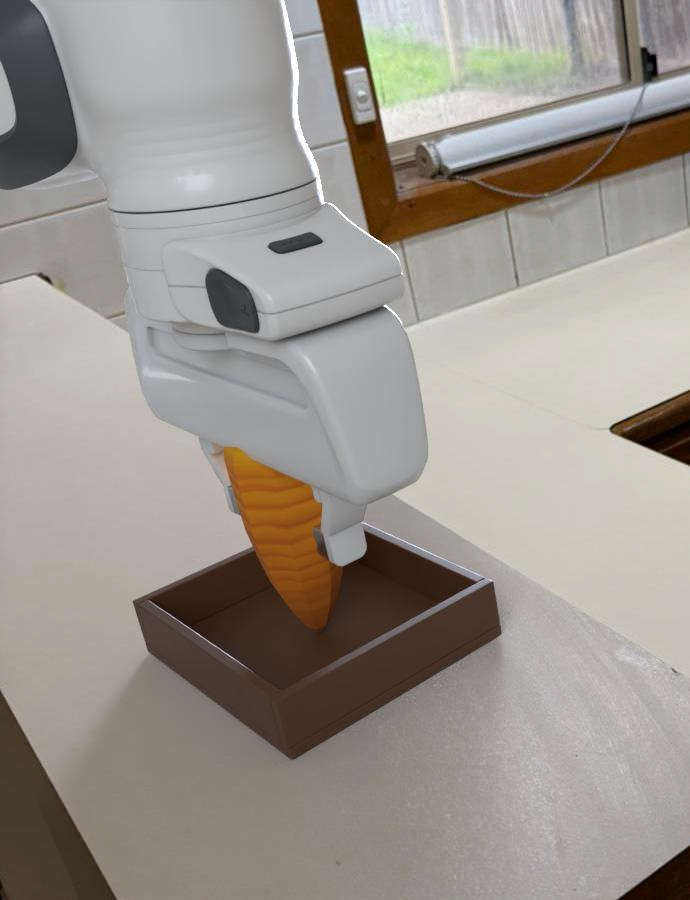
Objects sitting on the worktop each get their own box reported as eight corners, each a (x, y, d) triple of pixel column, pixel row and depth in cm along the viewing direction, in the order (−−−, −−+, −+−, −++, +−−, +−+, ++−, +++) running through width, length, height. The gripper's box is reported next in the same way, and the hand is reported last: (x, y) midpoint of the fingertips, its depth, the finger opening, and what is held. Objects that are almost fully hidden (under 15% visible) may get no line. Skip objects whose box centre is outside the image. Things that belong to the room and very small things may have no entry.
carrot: (323, 598, 61) (261, 331, 56) (388, 618, 58) (330, 339, 53) (249, 643, 58) (175, 363, 52) (315, 667, 55) (243, 373, 49)
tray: (147, 651, 59) (131, 600, 58) (344, 555, 67) (334, 508, 65) (291, 760, 50) (276, 702, 48) (502, 634, 57) (493, 580, 56)
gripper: (67, 250, 55) (141, 505, 61) (289, 305, 41) (359, 628, 47) (187, 221, 59) (247, 463, 65) (426, 262, 45) (476, 565, 51)
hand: (296, 533), depth 56 cm, fingers open, 7 cm apart
